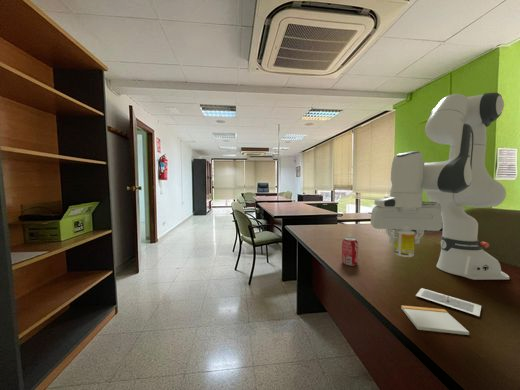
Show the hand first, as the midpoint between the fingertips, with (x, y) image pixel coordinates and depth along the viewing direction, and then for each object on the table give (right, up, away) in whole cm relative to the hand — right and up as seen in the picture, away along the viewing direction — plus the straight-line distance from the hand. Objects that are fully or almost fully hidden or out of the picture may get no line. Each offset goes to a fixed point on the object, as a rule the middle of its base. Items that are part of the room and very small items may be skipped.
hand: (404, 242), depth 72 cm
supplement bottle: (0, -4, 0) cm, 4 cm away
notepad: (0, -19, -12) cm, 22 cm away
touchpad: (+12, -19, -3) cm, 23 cm away
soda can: (-6, -17, +30) cm, 35 cm away
